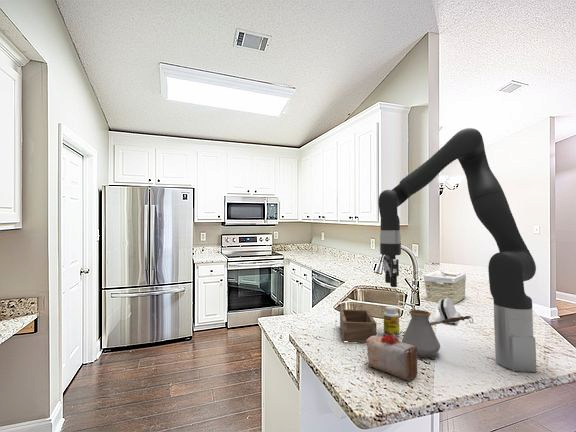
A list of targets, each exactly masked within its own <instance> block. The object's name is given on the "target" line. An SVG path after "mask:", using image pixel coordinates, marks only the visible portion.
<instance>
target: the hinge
mask: <svg viewBox="0 0 576 432" xmlns="http://www.w3.org/2000/svg"><path fill="white" fill-rule="evenodd" d="M437 303H438V304H437V309H438V312H439V315H440V318H441V321H442V320H445V319H450V318H454V317H461V316H462V314H461V313H460V311H457V309H456V307H455V304H453V302H452V300H451V299H445V300H444V299H442V300H440V301H439V302H437ZM453 323H454V325H455V326H456V327H457V326H458V325H459V324H460V321H457V322H450V323H449V324H453ZM442 324H443V325H447V324H448V323H442Z"/></svg>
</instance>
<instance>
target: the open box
mask: <svg viewBox="0 0 576 432" xmlns="http://www.w3.org/2000/svg"><path fill="white" fill-rule="evenodd" d="M340 327H341V328H340ZM339 328H340V333H341V332H342V333H341V336H343V338H342V341H348V342H357V343H356V344H364V343H366V340H367V339H368V338H369V337H371V336H378V335H377V333H378V332H377V329H378V328H377V322H376V320H375V319H374V317H373V316H372V314H371V312H370V311H369V309H344V308H343V309H341V308H340V309H339Z"/></svg>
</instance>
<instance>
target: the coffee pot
mask: <svg viewBox="0 0 576 432" xmlns="http://www.w3.org/2000/svg"><path fill="white" fill-rule="evenodd" d="M409 315H410V316H411V319H410V320H409V323H408V326H407V328H406V330H405V332H404V334H403V336H402V338H401V342H403V343H406V344H410V345H413V346H416V347H417V357H420V358H431V357H434V355H436V354H437V353H438V352H439V351H440V349H441V344H440V342H439V340H438V338H437V335H436V333H435V331H434V329H433V327H432V326H434V325H439V324H443V323H447V324H451V323H450V322H457V321H459V322H460V321H465V320H468V321H469V323H470V324H474V319H473V318H472V316H471V315H465V316H463V315H461V317H454V318H450V319H445V320H442V319H441V320H437V321H431V322H430V320H429V319H430V316H431V315H432V314H431V312H429V311H426V310H421V309H413V310H412V309H411V310H409ZM470 319H471V320H472V322H471V320H470Z"/></svg>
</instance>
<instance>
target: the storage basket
mask: <svg viewBox="0 0 576 432" xmlns="http://www.w3.org/2000/svg"><path fill="white" fill-rule="evenodd" d="M423 277H424V279H423V282H424V286H425V294H426V300H427V301H428V302H433V303H438V302H439V301H440V300H442V299H444V300H445V299H451V300H452V302H453V305H456V304H458V303H459V302H460V301H462V300H463V299H465V298H466V283H467V282H466V280H467V279H466V278H467V274H466V273H465V272H458V271H447V270H436V271H432V272H429V273H425V274H424V275H423Z"/></svg>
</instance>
